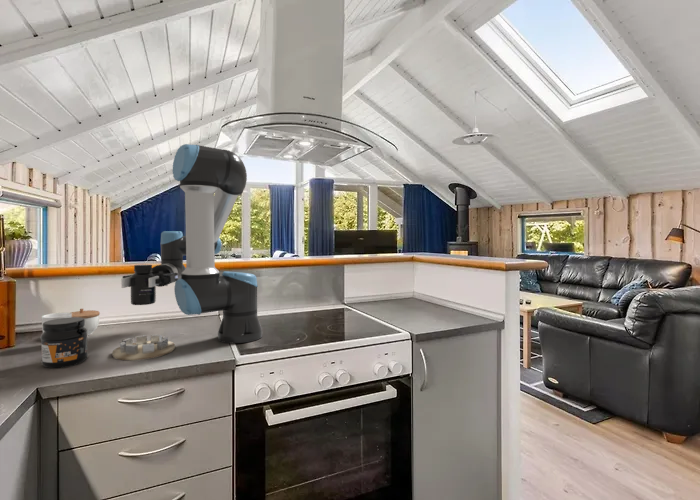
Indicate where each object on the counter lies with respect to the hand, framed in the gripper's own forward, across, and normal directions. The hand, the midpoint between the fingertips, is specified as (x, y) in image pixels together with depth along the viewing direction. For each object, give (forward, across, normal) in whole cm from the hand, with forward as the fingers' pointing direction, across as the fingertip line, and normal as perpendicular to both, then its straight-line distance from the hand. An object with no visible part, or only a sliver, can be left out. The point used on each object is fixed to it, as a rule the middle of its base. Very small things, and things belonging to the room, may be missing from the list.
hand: (136, 283), depth 112 cm
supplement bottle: (-5, 0, -7) cm, 9 cm away
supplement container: (+3, +18, -22) cm, 29 cm away
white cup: (-15, +30, -22) cm, 40 cm away
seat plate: (-5, 0, -22) cm, 22 cm away
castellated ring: (-5, 0, -22) cm, 22 cm away
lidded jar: (-28, +30, -22) cm, 47 cm away
